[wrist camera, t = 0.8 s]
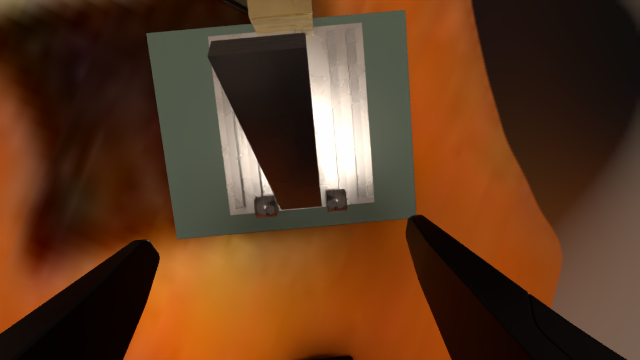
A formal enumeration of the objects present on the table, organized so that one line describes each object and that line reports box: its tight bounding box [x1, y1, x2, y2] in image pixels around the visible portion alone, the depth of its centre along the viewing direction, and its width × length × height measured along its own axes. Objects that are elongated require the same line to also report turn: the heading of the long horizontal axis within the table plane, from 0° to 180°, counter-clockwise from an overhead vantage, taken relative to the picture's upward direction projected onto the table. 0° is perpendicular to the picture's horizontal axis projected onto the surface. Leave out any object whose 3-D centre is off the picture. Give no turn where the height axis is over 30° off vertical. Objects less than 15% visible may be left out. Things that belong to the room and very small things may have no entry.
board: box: [146, 10, 416, 239], centre depth 22 cm, size 18×22×1 cm
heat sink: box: [208, 0, 374, 218], centre depth 18 cm, size 15×11×6 cm
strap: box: [207, 33, 322, 210], centre depth 13 cm, size 12×3×1 cm
